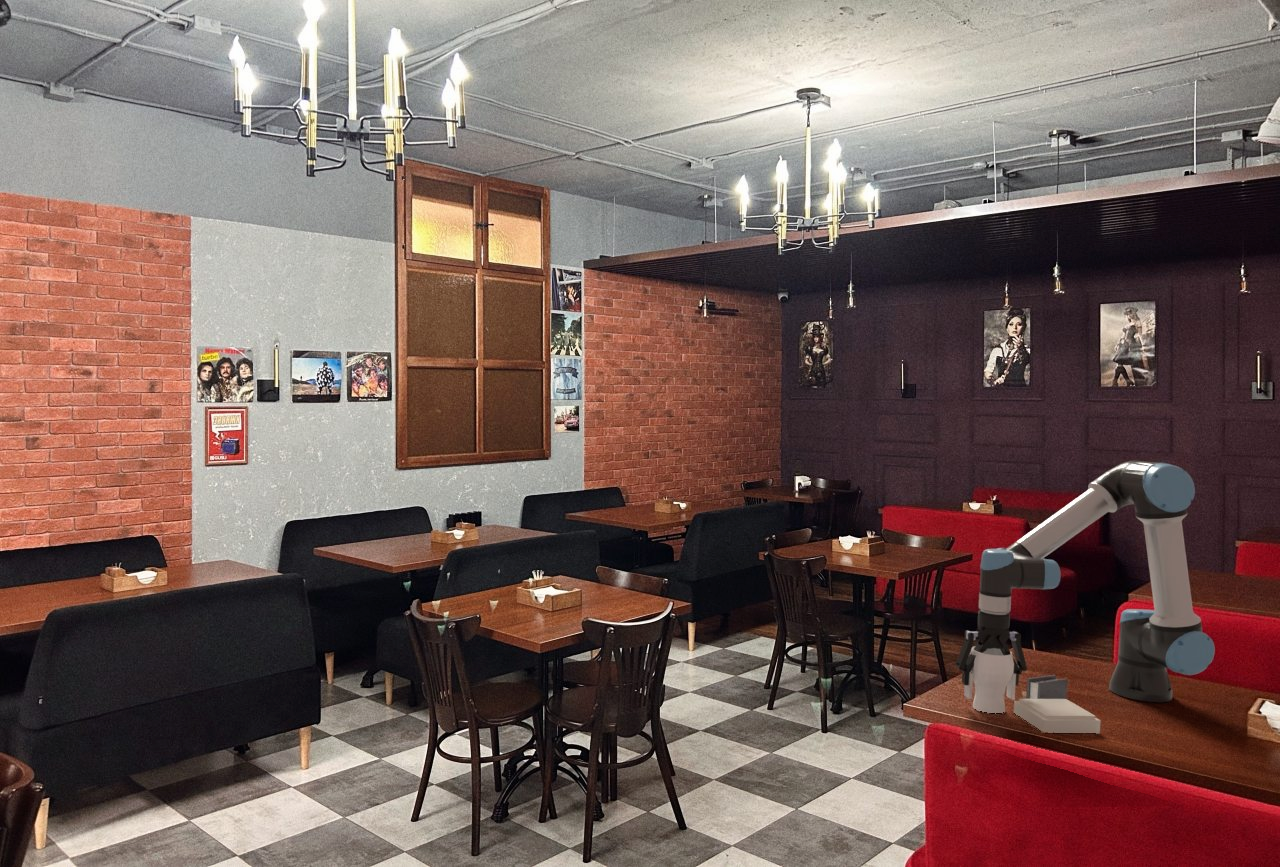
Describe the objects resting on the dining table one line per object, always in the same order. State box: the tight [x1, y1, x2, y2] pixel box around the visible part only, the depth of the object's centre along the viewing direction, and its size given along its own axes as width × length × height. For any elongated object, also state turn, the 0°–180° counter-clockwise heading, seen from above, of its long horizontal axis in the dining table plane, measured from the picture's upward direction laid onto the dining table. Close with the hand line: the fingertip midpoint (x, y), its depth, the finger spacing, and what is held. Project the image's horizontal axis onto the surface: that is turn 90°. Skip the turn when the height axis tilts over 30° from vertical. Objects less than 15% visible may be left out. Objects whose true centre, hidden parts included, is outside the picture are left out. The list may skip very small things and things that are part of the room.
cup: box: [969, 646, 1014, 715], centre depth 234 cm, size 11×11×15 cm
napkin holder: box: [1025, 674, 1068, 699], centre depth 239 cm, size 10×4×7 cm, turn 116°
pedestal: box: [1013, 698, 1102, 735], centre depth 225 cm, size 14×14×4 cm
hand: (989, 697), depth 234 cm, fingers closed on cup, 11 cm apart
